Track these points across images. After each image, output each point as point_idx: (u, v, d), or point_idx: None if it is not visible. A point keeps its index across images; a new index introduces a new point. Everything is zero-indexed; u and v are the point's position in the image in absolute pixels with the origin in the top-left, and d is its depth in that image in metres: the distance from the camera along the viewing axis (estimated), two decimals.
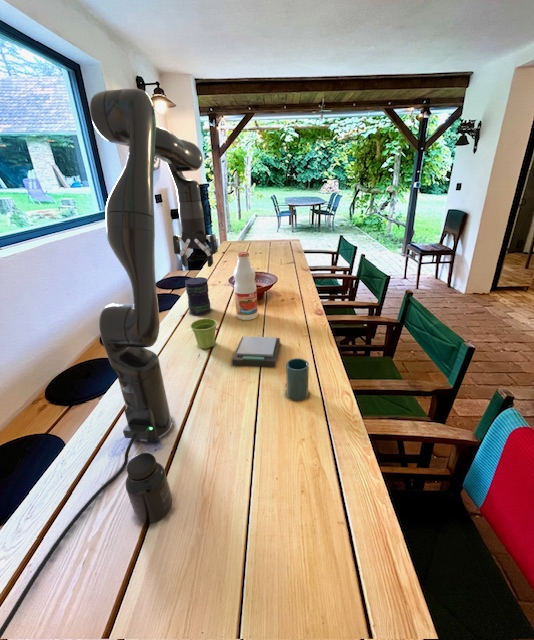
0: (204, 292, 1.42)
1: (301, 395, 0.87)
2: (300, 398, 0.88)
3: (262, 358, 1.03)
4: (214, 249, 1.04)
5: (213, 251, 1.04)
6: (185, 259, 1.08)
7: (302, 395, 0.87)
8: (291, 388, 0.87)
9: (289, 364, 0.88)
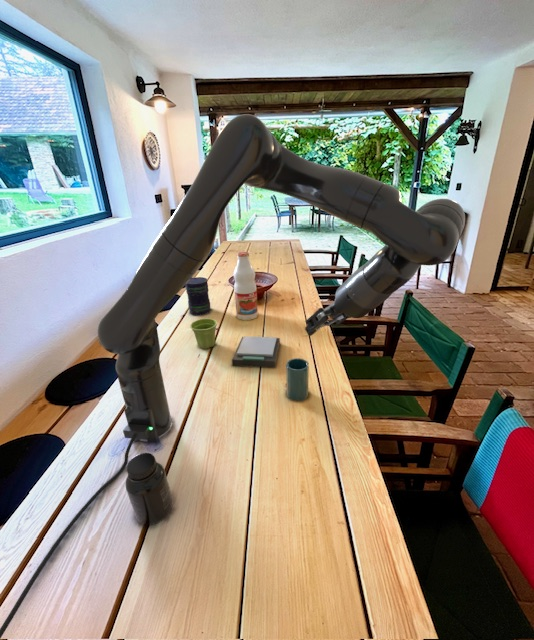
0: (204, 292, 1.42)
1: (301, 395, 0.87)
2: (300, 398, 0.88)
3: (262, 358, 1.03)
4: None
5: None
6: None
7: (302, 395, 0.87)
8: (291, 388, 0.87)
9: (289, 364, 0.88)
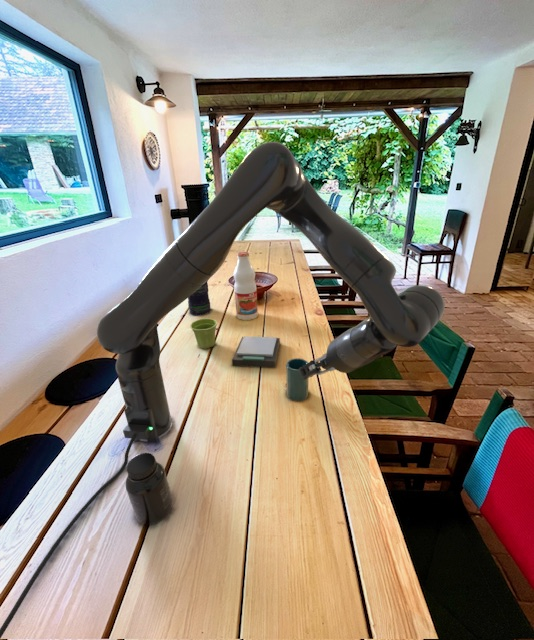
0: (204, 292, 1.42)
1: (301, 395, 0.87)
2: (300, 398, 0.88)
3: (262, 358, 1.03)
4: (302, 367, 0.70)
5: None
6: None
7: (302, 395, 0.87)
8: (291, 388, 0.87)
9: (289, 364, 0.88)
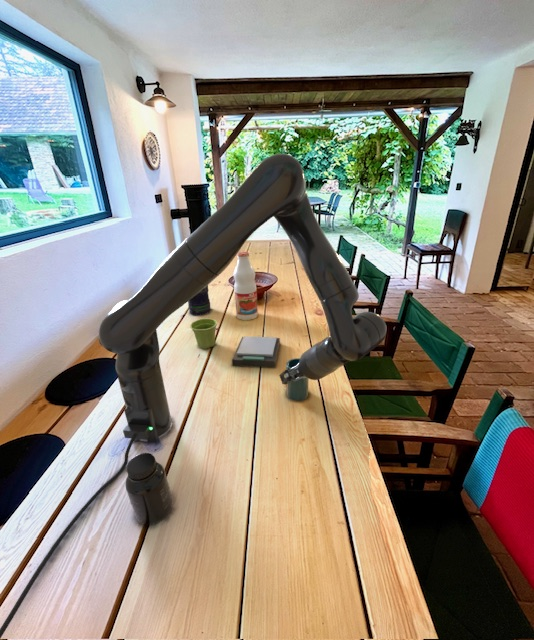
0: (204, 292, 1.42)
1: (301, 395, 0.87)
2: (300, 398, 0.88)
3: (262, 358, 1.03)
4: None
5: None
6: None
7: (302, 395, 0.87)
8: (291, 388, 0.87)
9: (289, 364, 0.88)
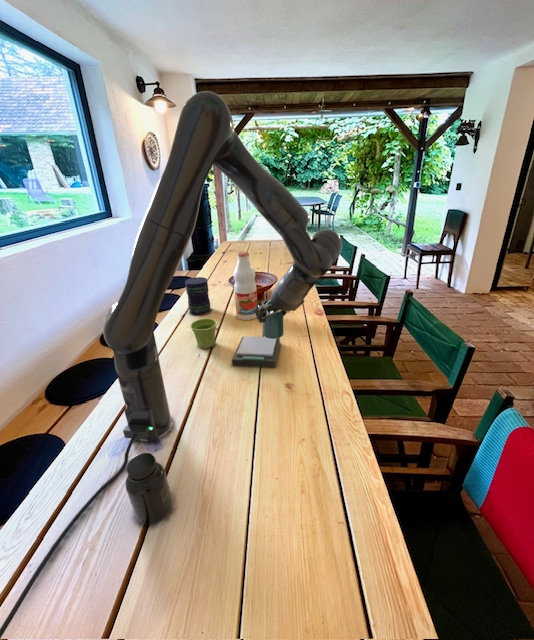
0: (204, 292, 1.42)
1: (276, 332, 0.92)
2: (275, 336, 0.93)
3: (262, 358, 1.03)
4: None
5: None
6: None
7: (277, 333, 0.93)
8: (266, 326, 0.92)
9: None
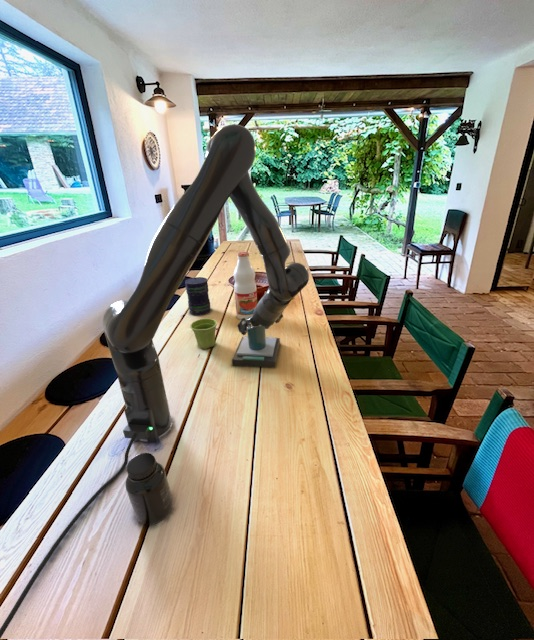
0: (204, 292, 1.42)
1: (259, 345, 1.07)
2: (258, 348, 1.07)
3: (262, 358, 1.03)
4: (238, 324, 1.01)
5: None
6: None
7: (260, 345, 1.07)
8: (251, 339, 1.06)
9: None
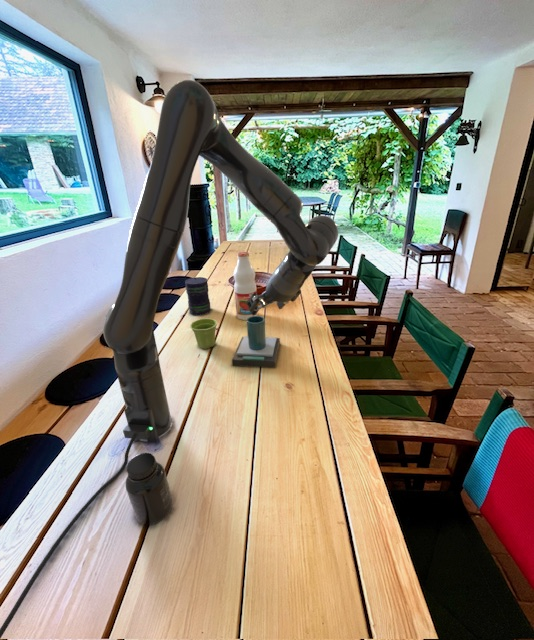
0: (204, 292, 1.42)
1: (259, 345, 1.07)
2: (258, 348, 1.07)
3: (262, 358, 1.03)
4: None
5: None
6: (280, 302, 0.92)
7: (260, 345, 1.07)
8: (251, 339, 1.06)
9: (249, 320, 1.08)
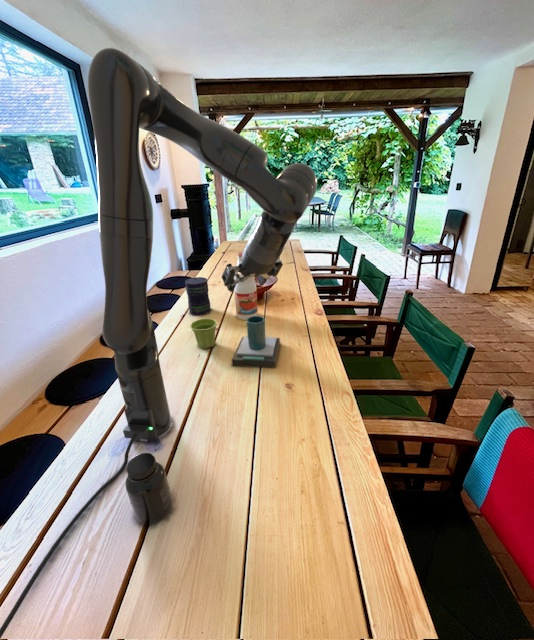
0: (204, 292, 1.42)
1: (259, 345, 1.07)
2: (258, 348, 1.07)
3: (262, 358, 1.03)
4: None
5: None
6: (261, 277, 0.83)
7: (260, 345, 1.07)
8: (251, 339, 1.06)
9: (249, 320, 1.08)
